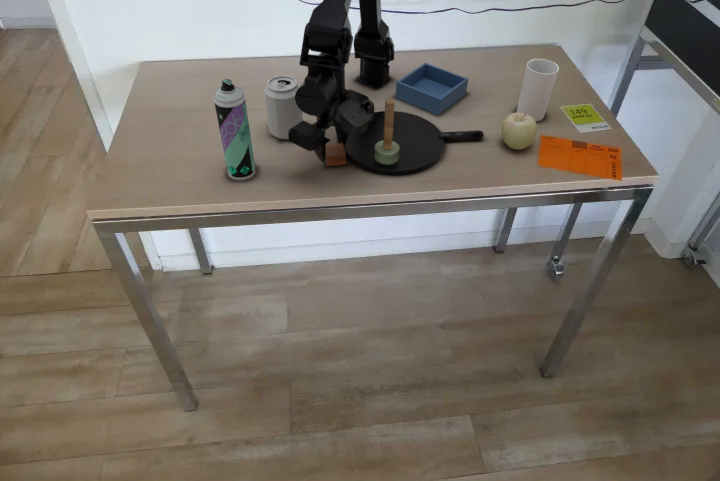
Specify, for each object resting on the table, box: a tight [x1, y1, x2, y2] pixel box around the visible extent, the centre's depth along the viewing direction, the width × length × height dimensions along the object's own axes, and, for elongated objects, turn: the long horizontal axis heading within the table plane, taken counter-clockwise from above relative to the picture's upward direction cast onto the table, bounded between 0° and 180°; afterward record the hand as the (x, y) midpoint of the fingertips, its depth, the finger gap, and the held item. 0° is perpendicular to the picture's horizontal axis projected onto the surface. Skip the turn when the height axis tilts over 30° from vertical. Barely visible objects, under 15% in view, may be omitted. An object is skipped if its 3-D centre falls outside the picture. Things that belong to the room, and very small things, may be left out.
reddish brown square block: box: [325, 143, 347, 167], centre depth 115 cm, size 4×4×2 cm
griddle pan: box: [344, 110, 485, 176], centre depth 120 cm, size 31×22×2 cm
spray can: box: [213, 78, 256, 181], centre depth 105 cm, size 6×6×20 cm
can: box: [264, 74, 304, 140], centre depth 119 cm, size 8×8×12 cm
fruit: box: [500, 112, 538, 151], centre depth 118 cm, size 8×7×8 cm
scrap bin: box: [395, 62, 469, 116], centre depth 133 cm, size 12×12×4 cm
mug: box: [516, 58, 560, 122], centre depth 126 cm, size 10×7×12 cm, turn 7°
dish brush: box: [374, 98, 400, 165], centre depth 110 cm, size 5×5×13 cm
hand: (332, 153), depth 115 cm, fingers open, 6 cm apart
